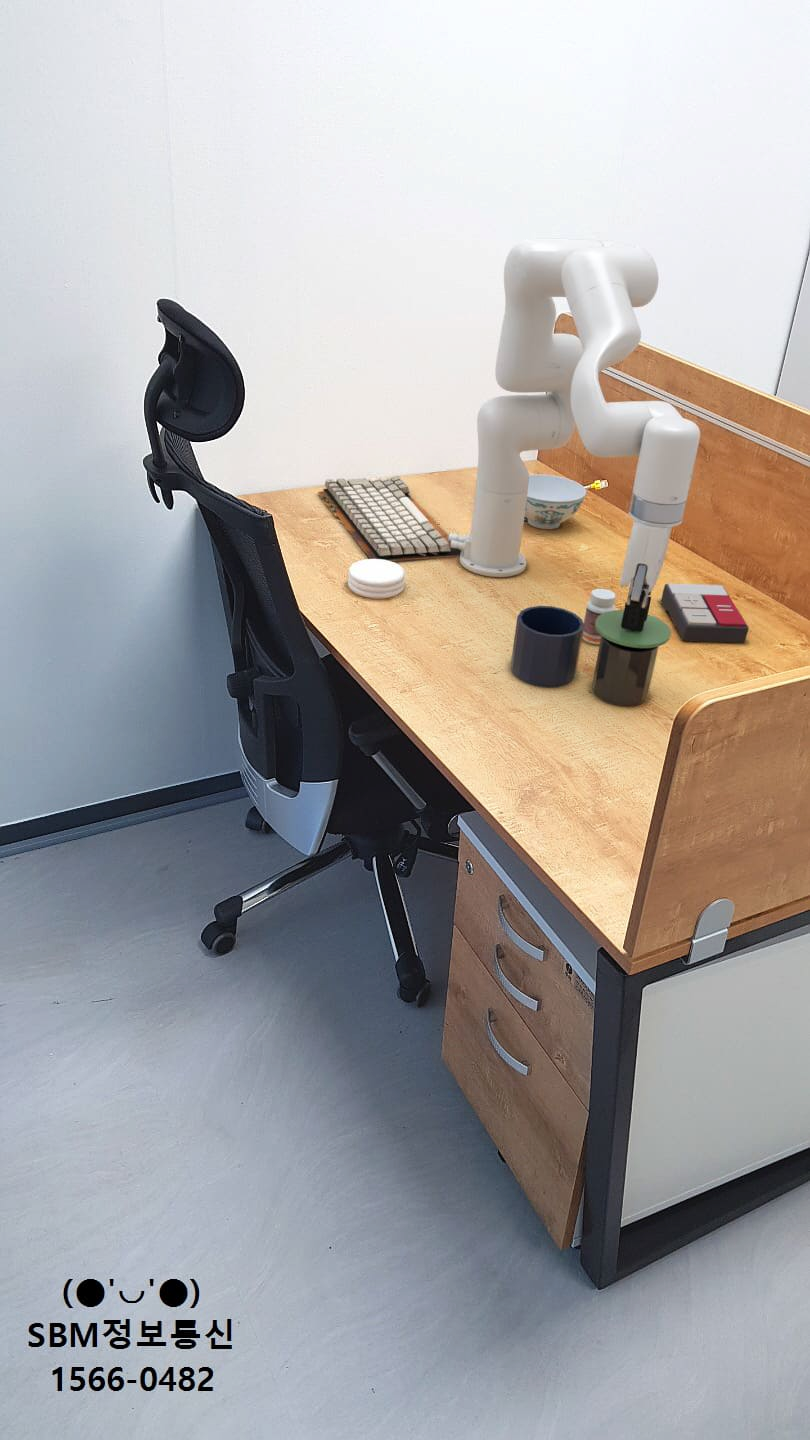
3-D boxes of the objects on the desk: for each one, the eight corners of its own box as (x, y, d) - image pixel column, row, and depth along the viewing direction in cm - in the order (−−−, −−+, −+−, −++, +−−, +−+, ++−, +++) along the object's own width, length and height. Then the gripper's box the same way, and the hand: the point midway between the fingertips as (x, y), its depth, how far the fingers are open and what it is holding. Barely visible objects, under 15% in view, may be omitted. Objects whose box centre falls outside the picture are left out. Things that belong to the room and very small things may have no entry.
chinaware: (498, 527, 224) (502, 491, 219) (520, 504, 235) (525, 469, 231) (569, 543, 219) (575, 506, 215) (588, 518, 231) (594, 483, 227)
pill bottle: (611, 646, 183) (620, 601, 179) (583, 644, 183) (591, 598, 179) (607, 633, 187) (616, 588, 183) (579, 631, 187) (587, 586, 183)
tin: (503, 678, 172) (510, 627, 167) (519, 650, 180) (526, 600, 175) (567, 693, 169) (576, 642, 164) (580, 664, 177) (589, 614, 172)
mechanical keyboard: (466, 556, 211) (468, 540, 209) (372, 566, 204) (373, 549, 202) (397, 486, 240) (398, 471, 238) (313, 493, 234) (314, 477, 232)
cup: (586, 698, 168) (596, 644, 163) (597, 673, 175) (607, 620, 170) (642, 712, 166) (654, 657, 161) (651, 685, 173) (663, 632, 168)
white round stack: (383, 571, 202) (384, 553, 200) (415, 592, 195) (416, 574, 193) (337, 582, 197) (337, 564, 195) (368, 604, 190) (369, 586, 188)
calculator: (687, 622, 184) (665, 579, 197) (682, 644, 187) (660, 600, 199) (750, 624, 185) (724, 581, 198) (744, 646, 188) (718, 602, 200)
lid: (587, 641, 162) (594, 603, 159) (602, 611, 171) (608, 574, 168) (663, 658, 159) (672, 620, 156) (674, 626, 168) (682, 589, 165)
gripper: (639, 484, 162) (618, 597, 172) (620, 522, 149) (598, 642, 158) (691, 494, 160) (666, 607, 170) (675, 532, 147) (650, 653, 157)
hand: (633, 623), depth 164 cm, fingers closed on lid, 2 cm apart
